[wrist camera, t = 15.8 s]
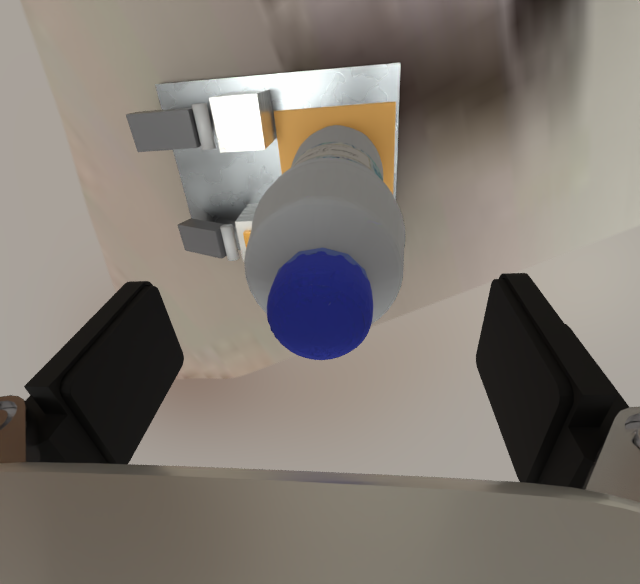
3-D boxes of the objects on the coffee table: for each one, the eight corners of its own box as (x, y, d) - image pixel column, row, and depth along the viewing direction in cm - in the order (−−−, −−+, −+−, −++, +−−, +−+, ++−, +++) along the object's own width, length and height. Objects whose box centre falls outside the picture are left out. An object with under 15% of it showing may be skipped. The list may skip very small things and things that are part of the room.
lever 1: (209, 102, 23) (202, 104, 22) (218, 145, 24) (212, 150, 23) (136, 108, 24) (124, 110, 22) (149, 150, 25) (138, 155, 24)
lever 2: (237, 223, 27) (224, 230, 26) (243, 255, 28) (231, 262, 27) (190, 216, 29) (176, 222, 28) (198, 245, 31) (185, 252, 30)
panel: (398, 62, 25) (409, 63, 20) (393, 239, 32) (400, 269, 27) (161, 83, 27) (120, 88, 22) (204, 246, 33) (180, 276, 29)
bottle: (382, 112, 25) (440, 213, 8) (383, 206, 29) (427, 410, 12) (287, 123, 26) (168, 233, 9) (300, 213, 30) (230, 411, 13)
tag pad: (395, 101, 25) (395, 101, 25) (392, 218, 30) (392, 220, 29) (274, 110, 26) (273, 111, 26) (288, 223, 31) (288, 224, 30)
